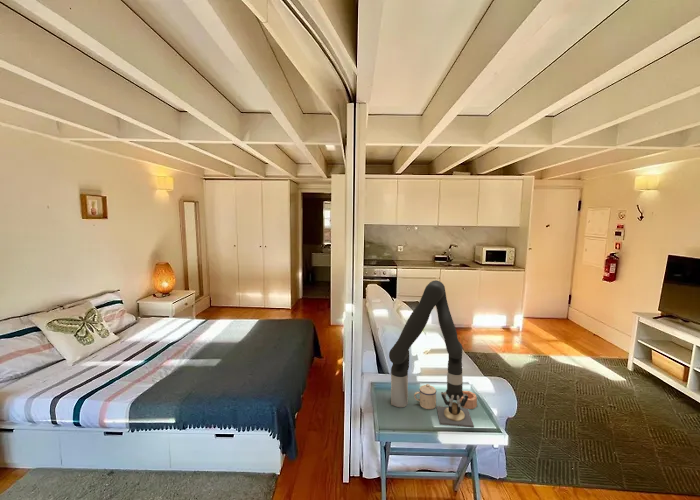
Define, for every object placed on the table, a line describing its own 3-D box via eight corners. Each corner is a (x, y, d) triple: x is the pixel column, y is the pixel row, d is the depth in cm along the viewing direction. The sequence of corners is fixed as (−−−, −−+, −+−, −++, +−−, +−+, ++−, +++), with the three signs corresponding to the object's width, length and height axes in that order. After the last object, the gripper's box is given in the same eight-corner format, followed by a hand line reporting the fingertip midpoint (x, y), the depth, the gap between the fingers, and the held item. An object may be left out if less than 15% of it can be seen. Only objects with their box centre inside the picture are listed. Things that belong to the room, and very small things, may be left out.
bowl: (460, 408, 166) (460, 399, 165) (456, 398, 175) (457, 390, 174) (477, 409, 164) (478, 400, 164) (473, 399, 173) (474, 391, 173)
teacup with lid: (434, 400, 173) (434, 380, 172) (437, 410, 164) (438, 389, 163) (412, 399, 174) (413, 380, 173) (415, 409, 165) (415, 388, 164)
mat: (439, 424, 153) (440, 422, 153) (436, 407, 166) (436, 406, 166) (473, 427, 150) (473, 425, 150) (467, 410, 164) (467, 408, 164)
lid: (445, 420, 154) (445, 408, 154) (442, 408, 164) (442, 397, 163) (466, 422, 152) (466, 410, 152) (462, 410, 162) (462, 399, 162)
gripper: (441, 383, 154) (441, 416, 155) (470, 385, 152) (470, 418, 153) (439, 376, 161) (439, 407, 163) (467, 377, 159) (467, 409, 161)
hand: (454, 412), depth 158 cm, fingers closed on lid, 3 cm apart
